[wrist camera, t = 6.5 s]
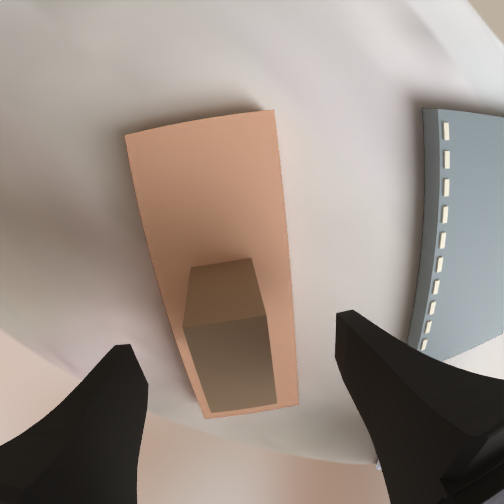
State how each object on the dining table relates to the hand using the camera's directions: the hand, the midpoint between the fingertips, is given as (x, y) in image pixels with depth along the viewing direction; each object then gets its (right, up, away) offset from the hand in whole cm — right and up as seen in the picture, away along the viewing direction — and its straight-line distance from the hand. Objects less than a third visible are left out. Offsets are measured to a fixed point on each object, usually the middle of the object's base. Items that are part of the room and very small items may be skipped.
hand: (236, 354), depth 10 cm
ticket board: (+14, +4, +5) cm, 15 cm away
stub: (-1, +2, +4) cm, 4 cm away
